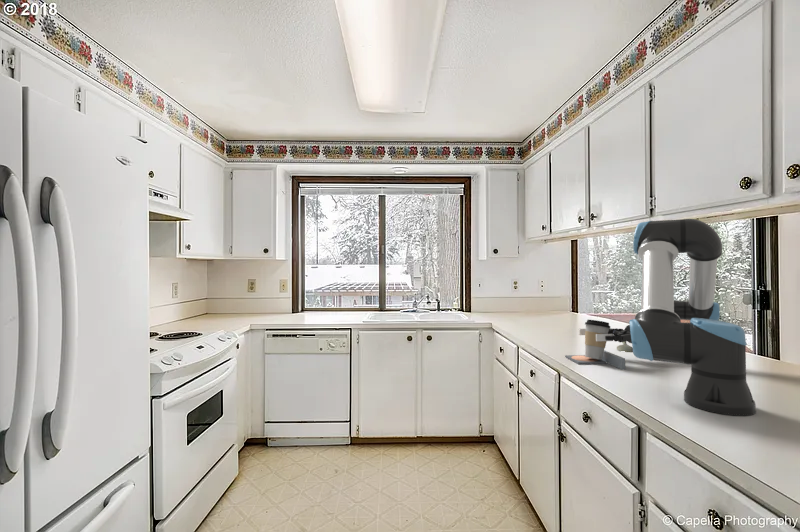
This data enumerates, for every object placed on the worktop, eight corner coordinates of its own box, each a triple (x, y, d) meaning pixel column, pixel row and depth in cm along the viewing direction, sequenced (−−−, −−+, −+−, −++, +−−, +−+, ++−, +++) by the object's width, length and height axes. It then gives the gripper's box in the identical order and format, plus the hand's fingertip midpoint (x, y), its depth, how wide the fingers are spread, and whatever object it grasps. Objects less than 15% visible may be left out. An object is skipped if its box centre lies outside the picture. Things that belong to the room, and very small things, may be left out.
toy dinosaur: (616, 353, 174) (633, 355, 171) (616, 346, 174) (633, 348, 171) (617, 343, 193) (632, 344, 190) (617, 336, 193) (632, 338, 189)
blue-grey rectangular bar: (625, 369, 143) (625, 358, 143) (621, 369, 143) (621, 358, 143) (597, 356, 163) (597, 347, 163) (593, 356, 163) (593, 347, 163)
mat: (606, 364, 151) (606, 361, 151) (578, 364, 151) (578, 362, 151) (590, 356, 163) (590, 354, 163) (565, 357, 163) (564, 355, 163)
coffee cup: (586, 356, 161) (590, 321, 163) (610, 361, 154) (614, 324, 156) (576, 355, 155) (581, 318, 156) (601, 360, 148) (605, 321, 149)
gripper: (659, 349, 146) (604, 350, 145) (620, 337, 170) (573, 338, 170) (659, 329, 146) (604, 330, 145) (620, 320, 170) (573, 321, 170)
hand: (587, 334), depth 158 cm, fingers open, 13 cm apart
